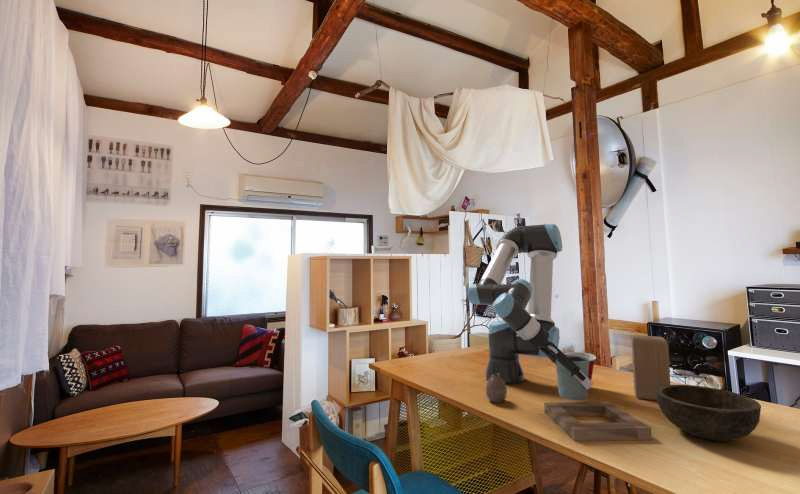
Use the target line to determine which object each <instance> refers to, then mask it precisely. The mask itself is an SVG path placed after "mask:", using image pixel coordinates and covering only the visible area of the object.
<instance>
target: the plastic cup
mask: <svg viewBox="0 0 800 494" xmlns="http://www.w3.org/2000/svg"><path fill="white" fill-rule="evenodd" d="M564 354H565V355H571V356H580V357H584V358H587V359H589V371H588V378H589V379H590V380H591V381H592V378H593V371H594V365H595V362H596V359H597V357H596V355H594V354H592V353H589V352H582V351H571V352H566V353H564ZM590 389H591V387H590V388H589V389H588V390H590Z"/></svg>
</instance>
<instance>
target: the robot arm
mask: <svg viewBox="0 0 800 494" xmlns="http://www.w3.org/2000/svg"><path fill="white" fill-rule="evenodd" d="M495 250H496V251H495V253H494V254H493V256H492V258H491V260H490V261H489V263H488V265H487V267H486V269H485V271H484V272H483V275H482V277H481V278H480V280H479V282H478V283H472V284H469V286H468V288H467V293H466V295H467V298H468V302H469V303H470V304H471V305H472V304H473V305H480V306H484V305H486V306H491V308H492V310H493V312H495V313H496V315H497V316H498V317H499V318H500V319H501V320H499V321H498V320H497V321H495V322H494V321H493V322H491V323H490V324H489V325H488V333H487V334H488V352H489V353H488V362H487V365H486V368H485V372H484V373H485V374H484V375H485V377H486V378H487V379H488V380H489V379H490V378H491V376H492V374H499V375H500V377H501V379H502V380H503V381H504V383H509V384H508V385H513V383H516V384H520V382H521V383H523V382H524V381H525V374H524V371H523V368H522V365H521V362H520V355H523V356H529V357H539V358H548V359H549V360H550V361H551V363H553V364H554V365H556V360H557V361H558V362H560V363H561V364H562V365H563V366H564V367H565V368H566V369H568V370H569V371H570V372H571V373H572V374H571V376H574V377H575V378H576V379H577V380H578V381H579V382H580V383H581V384H582V385H583V386H584V387H585V388H586V389H588V390H590V389H591V388H592V386H593V385H594V382H593V381H592V379H591V380H590V379H589V378H588V377H587V376H586V375H585V374H584V373H583V372H582V371H581V370H580V367H578V366H577V365H576V364H575V363H574V362H572V361H571V360H570V359H569V358H568V357H567V356H566V355H565V354H566V353H564V352H563V351H561V350H560V349H559V344H560V329H559V328H558V327H557V326H556V322H555V321H554V320H553V319H552V293H553V273H554V271H553V269H554V268H553V267H554V260H555V259H557V258H558V253H561V252H562V251H563V242H562V235H561V232H560V229H559V227H558V226H557V225H556V224H554V223H549V224H547V223H544V224H534V225H532V224H531V225H518V226H517V227H514V228H512V229H510V230H508V231H507V232H506V233H504V234H503V235H502V236H501V238H499V240H498V242H497V243H496V246H495ZM524 253H525V254H526V253H527V257H529V259H530V267H529V268H530V269H529V271H530V272H529V281H527V280H526V279H522V278H518V279H515V280H513V282H512V283H509V284H508V283H507V284H505V283H503V281H504V278H505V277H506V274H507V272H508V270H509V267H510V266H511V263H513V259H514V258H516V257H517V256H518V255H519V254H524ZM527 306H528V307H527ZM555 359H556V360H555ZM486 378H485V379H486ZM487 379H486V380H487ZM488 380H487V381H488ZM522 381H523V382H522ZM511 383H512V384H511ZM589 388H590V389H589Z"/></svg>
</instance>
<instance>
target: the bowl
mask: <svg viewBox="0 0 800 494" xmlns="http://www.w3.org/2000/svg"><path fill="white" fill-rule="evenodd" d="M656 396H657V401H656V402H657V404H658V406H659V409H660V410H661V412H662V413H663V414H664V416H665V417H666V418H667V420H668V422H671V423H672V424H673V425H674V426H675V427H677V428H678V429H680V430H682V431H684V432H686V433H688V434H689V435H691V436H694V437H698V438H701V439H705V440H710V441H716V442H727V441H733V440H739V439H742V438H745V437H747V436H749V435H750V434H752V432H754V430H756V428H757V426H758V425H759V423H760V418H761V409H762V405H761V404H760V403H759V402H758V401H756V400H755V399H752V398H751V397H748V396H745V395H744V394H739V393H736V392H734V391H733V392H732V391H729V390H725V389H719V388H715V387H710V386H709V387H708V386H702V385H692V384H691V385H690V384H670V385H665V386H660V387H658V388H657V389H656Z"/></svg>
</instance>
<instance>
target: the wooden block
mask: <svg viewBox="0 0 800 494" xmlns="http://www.w3.org/2000/svg"><path fill="white" fill-rule="evenodd" d="M669 353H670V352H669V342H668V341H667V340H666V338H665V337H663V336H655V335H653V336H650V335H637V334H636V335H635V334H634V335H632V336H631V356H632V357H631V359H632V375H633V376H632V377H633V378H632V379H633V390H634V395H635V397H636V398H637V399H638V400H639V399H640V400H646V401H647V400H648V401H656V402H658V401H657V396H656V389H657V388H658V387H660V386H665V385H671V375H670V354H669Z"/></svg>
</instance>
